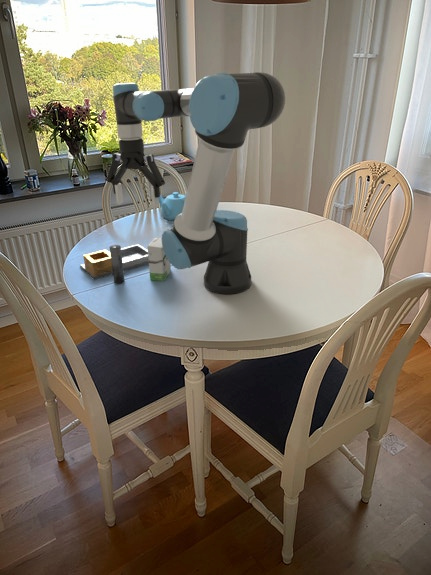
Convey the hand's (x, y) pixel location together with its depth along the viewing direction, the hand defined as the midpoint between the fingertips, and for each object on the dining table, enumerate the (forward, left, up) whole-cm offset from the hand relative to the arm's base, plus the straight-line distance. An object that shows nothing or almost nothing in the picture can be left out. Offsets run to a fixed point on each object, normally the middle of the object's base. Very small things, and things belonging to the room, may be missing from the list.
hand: (137, 205), depth 147 cm
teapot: (+35, -35, -21) cm, 54 cm away
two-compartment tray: (+3, +8, -21) cm, 22 cm away
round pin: (-9, +13, -21) cm, 26 cm away
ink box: (-13, 0, -21) cm, 24 cm away
